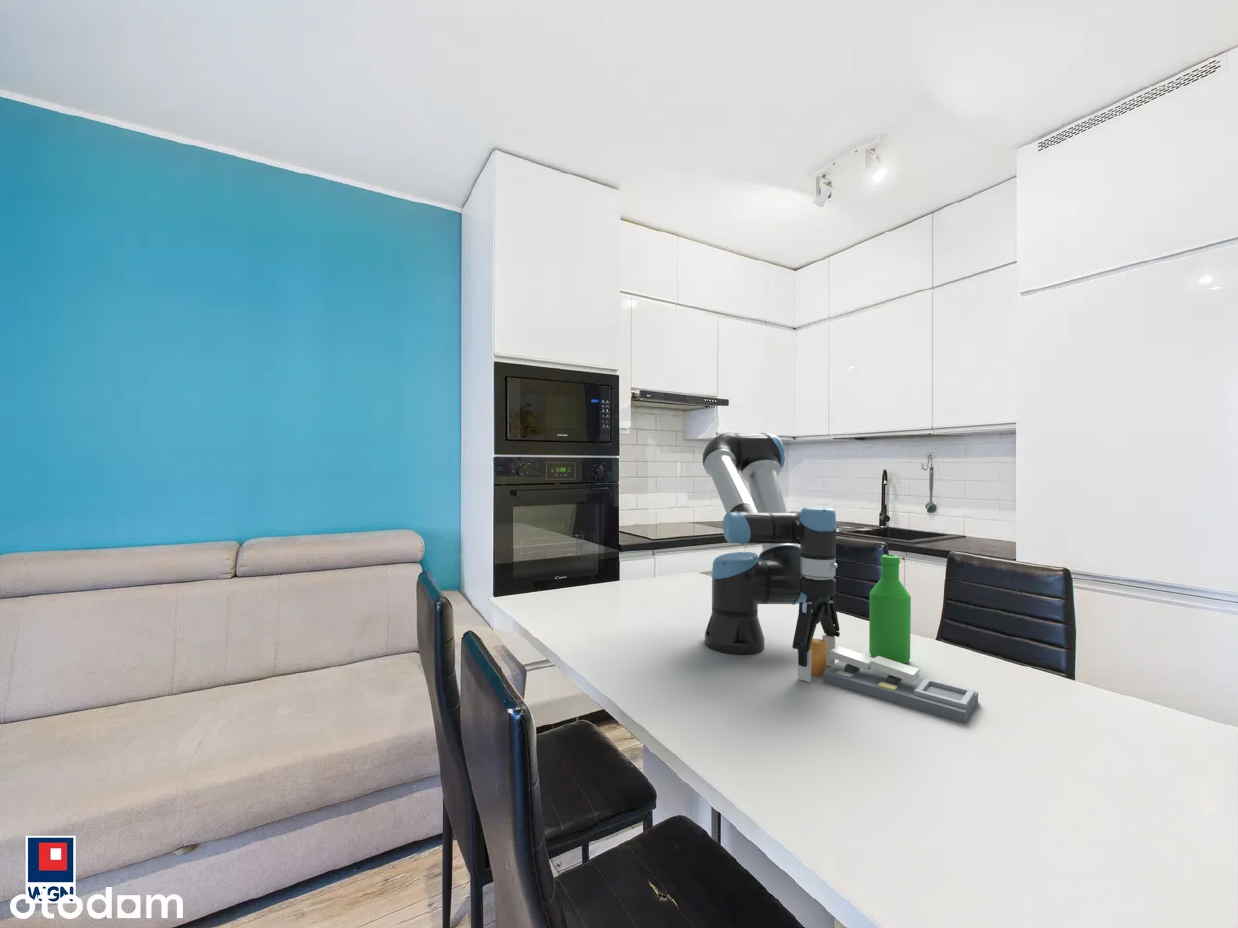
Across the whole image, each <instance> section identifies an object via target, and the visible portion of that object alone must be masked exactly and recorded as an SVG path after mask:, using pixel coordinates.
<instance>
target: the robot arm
mask: <svg viewBox="0 0 1238 928" xmlns="http://www.w3.org/2000/svg"><path fill="white" fill-rule="evenodd" d="M785 460H786V456H785V447H784V444H783V442H782V439H780V438H779V436H778V435H776V434H773V433H765V432H759V433H747V432H745V433H744V432H743V433H742V432H727V433H726V432H725V433H721V434H719V435H716V437H715V436H714V438H712V439H711V440H710V441H709V442H708V444H707V445H706V446H705V448H704V451H703V453H702V460H701V461H702V466H703V468H704V470H705V473H706V474H707V475H709V476H710V477H711V479H712V481H713V484H714V486H715V489H716V492H717V493H718V496H719V498H720V499H719V500H720V501H721V503H722V505H723V508H724V510H725V514H724V516H723V520H722V531H723V537H724V539H725V541H726V542H727V543H731V544H740V545H747V544H752V545H753V544H757V545H758V544H761V547H762V551H761V552H760V553H759V554H757V553H755V552H750V551H747V552H745V551H736V552H729V553H724V554H721V555H719V556H717V557H715V558H714V560H713V562H712V569H711V615H710V617H709V620H708V623H707V626H706V629H705V632H704V644H705V645H706V646H707V647H708V648H709V649H712V650H714V651H718V652H721V653H726V654H734V655H748V654H749V655H751V654H755V653H760V652H761V651H764V649H765V636H764V632H763V629H762V626H761V623H760V620H759V614H758V613H759V610H758V607H759V605H793V606H794V605H798V614H797V620H796V625H795V629H794V630H795V631H794V636H793V641H792V649H795V650H797V680H800V681H803V682H807V683H811V682H812V675H811V651H809V649H810V645H811V642H812V639H814V636H815V632H816V628H817V625H819V624H820V626H821V628H822V631H823V634H822V635H821V636H822V638H821V640H824V641H826V665H829V666H833V665H834V664H836V659H833V658H830V651H831V650H832V649H834V648H835V647H836V637H838V638H839V637H840V634H841V633H840V624H839V619H838V612H837V607H836V599H835V597H836V596H835V595H836V591H837V590H836V588H837V587H836V585H837V584H836V583H837V582H836V579H835V578H834V577H835V576H836V570H837V568H838V563H836V558H837V557H836V554H837V527H838V525H837V519H836V517H837V516H836V515H837V514H836V510H834V509H833V508H831V507H823V506H822V507H820V506H819V507H818V506H805V507H802V508H801V510H800V511H792V510H791V511H787V508H786V504H785V501H784V496H783V492H782V489H781V485H780V480H779V478H778V476H779V475H780V473H781V472H782V471H781V470H782V469H783V467H784V465H785ZM745 481H746V482H747V483H748V486H749V490H748V488H747V486H746V484H745ZM797 544H798V545H799V546H798V545H797Z"/></svg>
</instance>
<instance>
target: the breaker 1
mask: <svg viewBox="0 0 1238 928" xmlns="http://www.w3.org/2000/svg"><path fill="white" fill-rule="evenodd" d="M830 658H833V659H835V661H838V662H839V661H842V662H844V663H847V664H850V665H853V666H856V667H858V668H861V669H864V670H867V671H868V670H869V669H870V665H871V661H872V660H873V659H874V657H873V656H871V655H870V656H869V655H867V654H863V653H860V652H857V651H854V650H852V649H848V648H845V647H843V646H839V645H838V646H837V645H836V646H835V648H834V649H832V650H831V651H830Z"/></svg>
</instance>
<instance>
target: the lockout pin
mask: <svg viewBox="0 0 1238 928" xmlns="http://www.w3.org/2000/svg"><path fill="white" fill-rule="evenodd" d="M809 651H811V676H814V677H823V672H824V671H825V670H827V664H826V641H824V640H822V638H821V639H820V638H813V639H812V642H811V645H810V649H809Z"/></svg>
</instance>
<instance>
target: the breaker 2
mask: <svg viewBox="0 0 1238 928" xmlns="http://www.w3.org/2000/svg"><path fill="white" fill-rule="evenodd" d="M873 658H874V657H873ZM870 668H872V669H875V670H878V671H881V672H884V673H886V674H889V675H892V676H895V677H898V678H901V679H904V680H907V681H910V682H913V681H914V680H915V679H916V678H917V677H920V669H919V668H917V667H914V666H910V665H907V664H905V663H904V664H902V663H899V662H896V661H893V660H890V659H887V658H884V657H881V656H877V657H875V658H874V659H873V660H872V661H871V665H870Z"/></svg>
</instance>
